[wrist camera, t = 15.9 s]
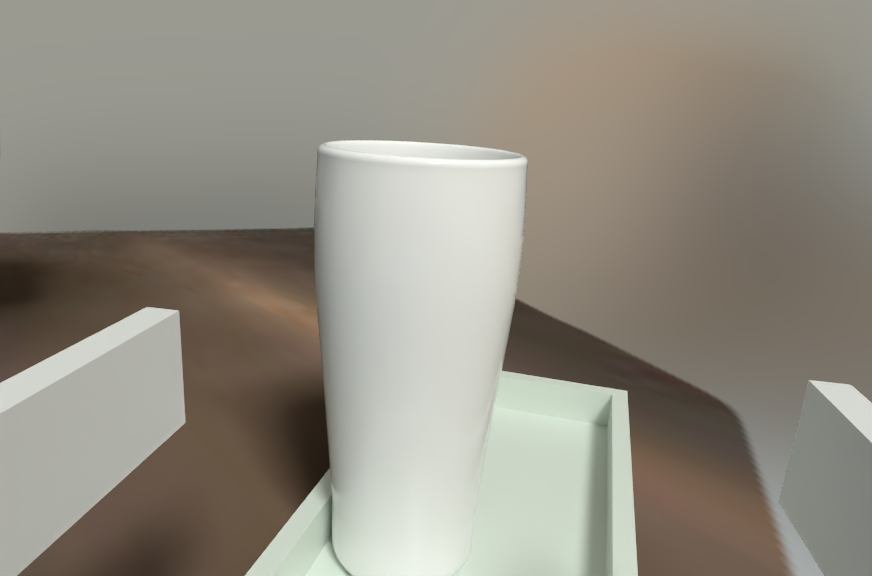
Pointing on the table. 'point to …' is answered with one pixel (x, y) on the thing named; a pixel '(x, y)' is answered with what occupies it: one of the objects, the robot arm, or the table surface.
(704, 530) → the table surface
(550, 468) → the tray
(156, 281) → the table surface
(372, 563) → the drinking glass
